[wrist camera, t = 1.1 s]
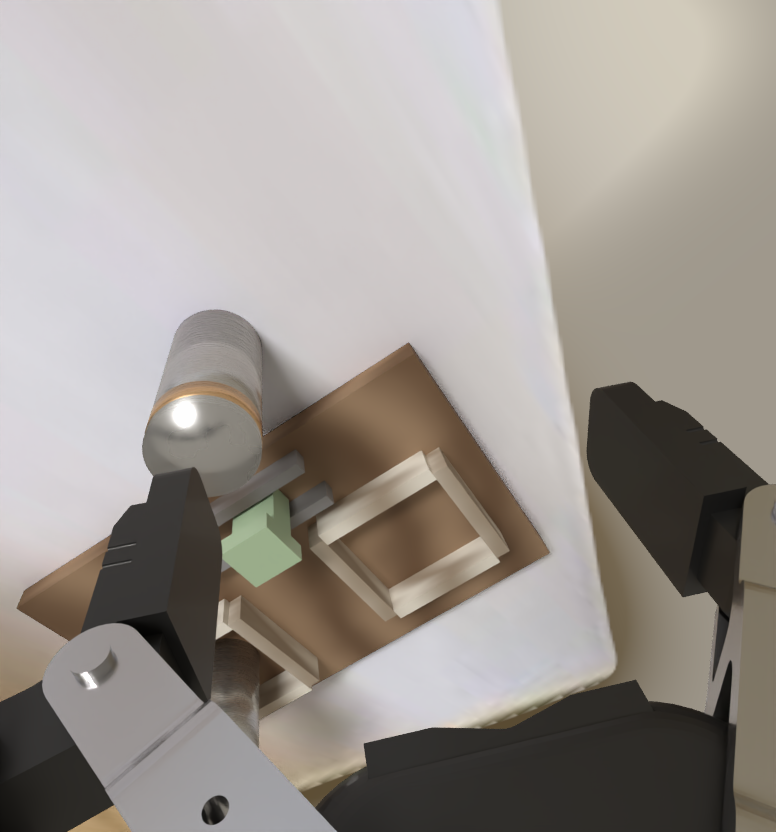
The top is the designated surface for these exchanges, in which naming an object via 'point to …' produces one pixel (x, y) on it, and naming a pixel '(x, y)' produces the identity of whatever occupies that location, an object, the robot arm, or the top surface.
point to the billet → (209, 403)
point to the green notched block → (262, 540)
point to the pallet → (349, 531)
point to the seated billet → (237, 684)
